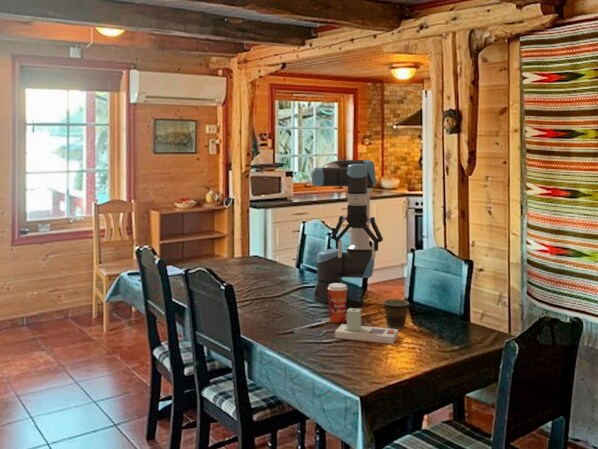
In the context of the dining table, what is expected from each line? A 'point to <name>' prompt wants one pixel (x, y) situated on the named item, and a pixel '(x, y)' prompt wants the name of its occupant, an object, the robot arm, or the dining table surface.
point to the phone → (309, 332)
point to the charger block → (354, 320)
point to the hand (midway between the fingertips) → (356, 258)
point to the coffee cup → (337, 302)
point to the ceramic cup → (395, 313)
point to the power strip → (368, 334)
